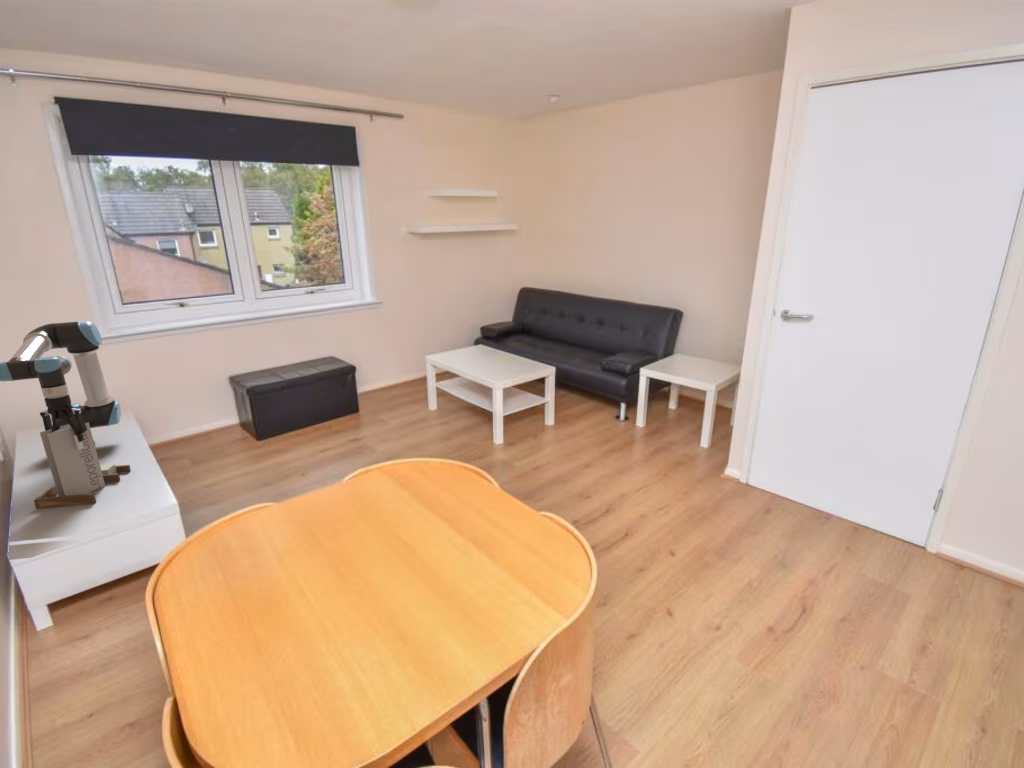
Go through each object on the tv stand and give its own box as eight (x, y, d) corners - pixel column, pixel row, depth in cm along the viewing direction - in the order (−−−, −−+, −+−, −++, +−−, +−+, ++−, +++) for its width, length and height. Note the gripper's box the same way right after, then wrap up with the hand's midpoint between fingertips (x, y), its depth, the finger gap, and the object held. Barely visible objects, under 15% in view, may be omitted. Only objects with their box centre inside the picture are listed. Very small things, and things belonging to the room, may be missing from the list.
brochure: (67, 502, 204) (47, 434, 195) (59, 500, 206) (39, 432, 197) (105, 487, 217) (88, 422, 208) (97, 484, 219) (80, 420, 210)
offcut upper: (86, 472, 225) (85, 466, 224) (116, 470, 226) (114, 464, 225) (78, 478, 219) (76, 472, 218) (108, 476, 221) (107, 469, 220)
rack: (80, 476, 226) (78, 468, 225) (131, 472, 230) (129, 464, 229) (36, 508, 199) (33, 499, 198) (94, 503, 203) (92, 494, 202)
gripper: (22, 400, 193) (38, 455, 200) (77, 397, 196) (92, 451, 203) (36, 394, 200) (51, 447, 207) (89, 391, 203) (103, 444, 210)
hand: (71, 449), depth 205 cm, fingers open, 6 cm apart
